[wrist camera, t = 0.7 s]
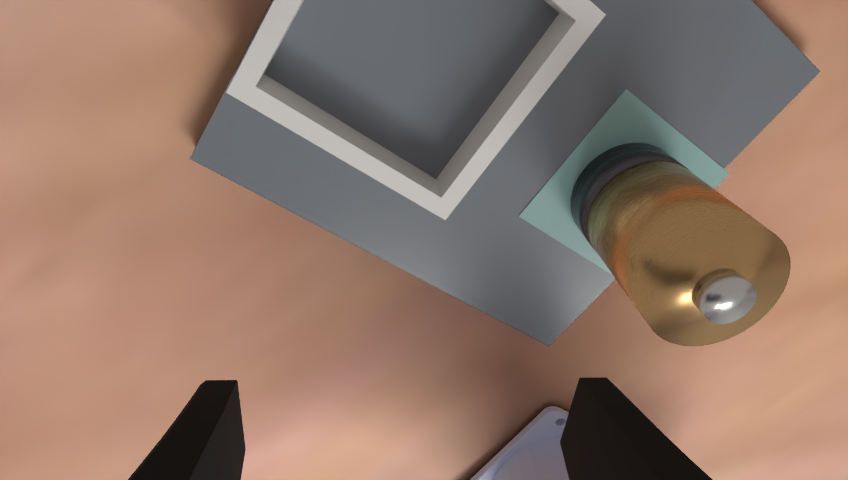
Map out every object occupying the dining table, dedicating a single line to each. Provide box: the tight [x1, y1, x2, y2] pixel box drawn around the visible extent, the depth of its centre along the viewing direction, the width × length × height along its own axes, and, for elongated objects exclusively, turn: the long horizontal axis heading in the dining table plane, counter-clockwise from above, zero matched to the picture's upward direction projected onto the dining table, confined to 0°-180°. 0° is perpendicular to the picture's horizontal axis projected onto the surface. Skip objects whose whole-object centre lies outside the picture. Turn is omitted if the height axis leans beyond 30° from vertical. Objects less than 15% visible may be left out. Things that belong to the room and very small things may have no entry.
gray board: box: [190, 0, 820, 346], centre depth 17 cm, size 16×14×2 cm
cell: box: [570, 143, 790, 346], centre depth 17 cm, size 4×4×7 cm
